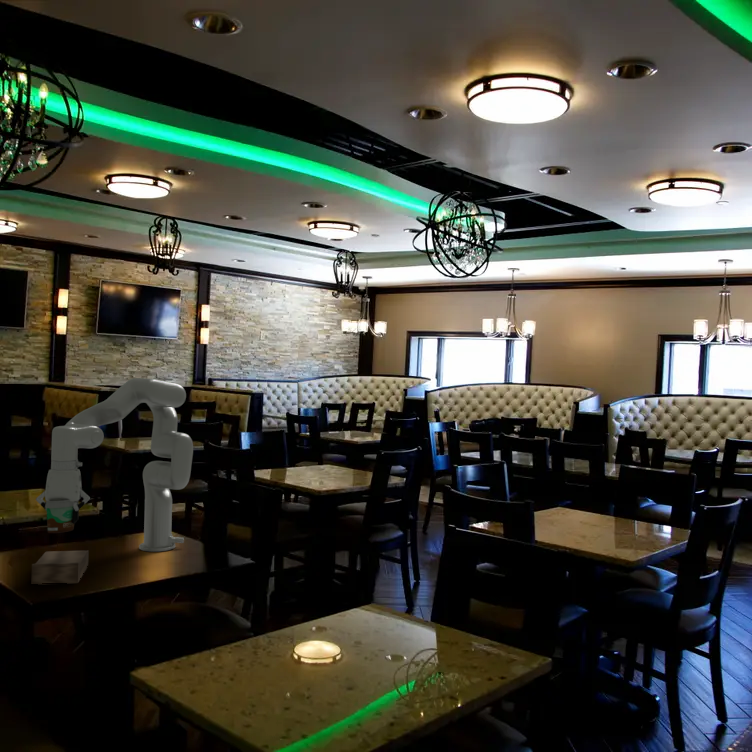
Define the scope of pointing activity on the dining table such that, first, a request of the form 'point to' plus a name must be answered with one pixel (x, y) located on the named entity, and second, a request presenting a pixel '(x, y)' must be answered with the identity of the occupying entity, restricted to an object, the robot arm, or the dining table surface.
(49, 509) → the food container
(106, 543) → the dining table surface
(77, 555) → the brown rectangular block
